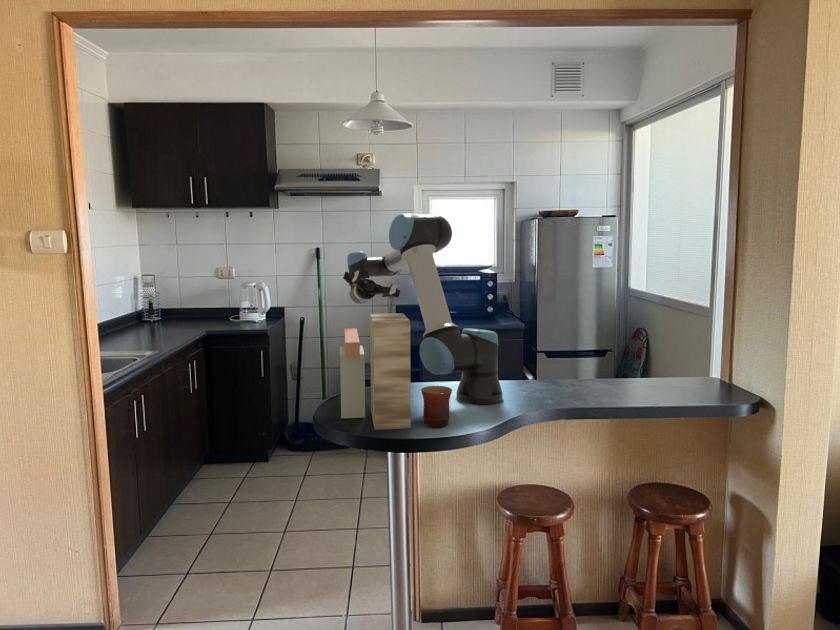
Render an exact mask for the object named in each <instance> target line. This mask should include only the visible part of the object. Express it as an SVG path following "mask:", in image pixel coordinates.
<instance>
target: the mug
mask: <svg viewBox="0 0 840 630" xmlns="http://www.w3.org/2000/svg"><path fill="white" fill-rule="evenodd" d="M420 391H421V395H422V399H423V408H422V412H423V413H422V414H423V416H422V418H423V423H424V425H426V426H427V427H429V428H435V429H441V428H445V427H446V426H448V424H449V423H450V399H451V395H452V392H453V389H452V388H450V387H448V386H444V385H428V386H424V387H422V388H421V389H420Z"/></svg>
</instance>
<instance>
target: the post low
mask: <svg viewBox="0 0 840 630" xmlns="http://www.w3.org/2000/svg"><path fill="white" fill-rule="evenodd" d="M339 359H340V360H339V361H340V362H339V364H340V368H339V369H340V371H339V372H340V409H341V410H340V418H341V419H359V418H360V419H361V418H366V382H365V381H366V379H365V377H366V375H365V373H366V372H365V369H366V368H365V367H366V366H365V365H366V364H365V361H366V360H365V351H364V346H363V345H360V356H346V353H345V345H340V346H339Z"/></svg>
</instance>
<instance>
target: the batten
mask: <svg viewBox="0 0 840 630" xmlns="http://www.w3.org/2000/svg"><path fill="white" fill-rule="evenodd" d="M343 330H344V346H345V353H346V356H360V346H361V345H360V344H361V343H360V338H359V333H358V329H357V327H353V328H352V327H351V328H350V327H349V328H347V327H346V328H344V329H343Z"/></svg>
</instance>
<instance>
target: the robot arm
mask: <svg viewBox="0 0 840 630" xmlns="http://www.w3.org/2000/svg"><path fill="white" fill-rule="evenodd" d="M452 237H453V229H452V226H451V224H450V222H449V221H448V220H447V218H445V217H443V216H441V215H437V214H421V213H417V214H416V213H410V212H408V213H400V214H397V215H396V216H395V217H394V218H393V220H392V221H391V223H390V227H389V231H388V240H389V241H388V242H389V245H390V246H391V248H392V249H394V250H392V251H391V252H390V253H387V254H385V255H384V256H377V257H373V256H371V257H370V256H369V257H368V255H367V253H366V252H365V251H353V252H349V253H348V254H347V259H346V260H347V269H348V271H345V272H344V273H343V277H342V279H343V280H344V281H346V283H348V285H349V287H350V291H349V297H350V299H351V301H352V302H354V303H355V304H357V305H361V304H366V303H367V302H368V301H369V300H370V299H373V298H374V297H375V296H377V295H380V294H381V297H383V298H399V297H400V293H401V290H400V289H398V283H395V284H393V285H392V286H389V287H388V286H384V285H383V286H382V284H378V283H376V281H374V280H373V279H372V277H375V278H376V277H394V276H398V275H400V274H401V272H402V270H403V268H405V267H407V266H408V268H409V272H410V277H411V279H412V283H413V287H414V288H413V289H414V290H415V294H416V297H417V302H418V306H419V308H420V309H419V310H420V312H421V316H422V320H423V323H424V328H425V331H424V333H423V335H422V338H423V340H422V341H421V343H420V346H419V357H420V360H421V362H422V364H423V366H424V368H425V369H426V370H427V371H429V372H430V373H431V374H434V375H448V374H451V373H457V372H461V377H460V381H459V383H458V386H457V389H456V396H455V397H456V399H457V401H459V402H461V403H465V404H469V405H493V404H497V403H500V402H502V401H503V390H502V387H501V383H500V380H499V377H498V367H499V366H498V365H499V336H498V334H497V332H495V331H492V330H488V329H482V328H481V329H478V328H470V327H469V328H463V329H462V331H460V328H459V326H458V325H457V324H456V323H453V320H452V318H451V314H450V311H449V307H448V304H447V300H446V295H445V293H444V290H443V286H442V282H441V279H440V275H439V272H438V269H437V266H436V261H435V258H434V256H433V255H434V253H438V252H440V251H442V250H443V249H445V248H446V247H447V246H449V244H450V242H451V241H452ZM370 277H371V278H370Z"/></svg>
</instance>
